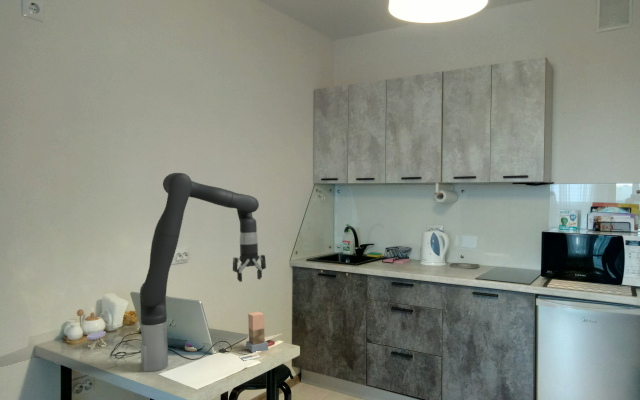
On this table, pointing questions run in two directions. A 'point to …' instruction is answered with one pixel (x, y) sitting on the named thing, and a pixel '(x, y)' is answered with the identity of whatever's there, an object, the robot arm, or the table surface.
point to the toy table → (96, 338)
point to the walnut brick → (256, 336)
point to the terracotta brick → (256, 320)
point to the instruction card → (250, 356)
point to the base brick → (257, 346)
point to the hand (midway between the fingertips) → (249, 280)
